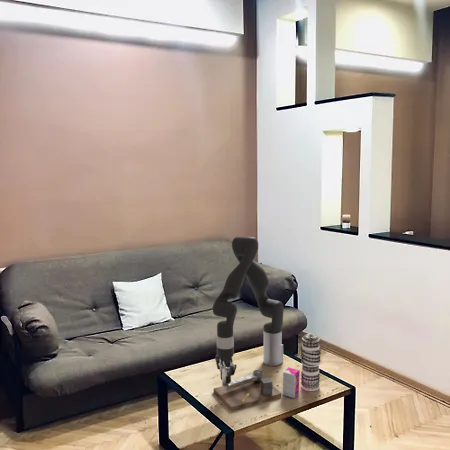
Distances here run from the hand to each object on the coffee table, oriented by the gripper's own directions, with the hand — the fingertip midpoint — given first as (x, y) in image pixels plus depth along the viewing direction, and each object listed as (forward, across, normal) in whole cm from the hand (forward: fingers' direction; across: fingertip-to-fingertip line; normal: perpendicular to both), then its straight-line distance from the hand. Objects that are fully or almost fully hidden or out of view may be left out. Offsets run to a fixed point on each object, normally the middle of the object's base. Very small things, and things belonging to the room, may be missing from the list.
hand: (225, 381), depth 221 cm
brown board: (+8, -4, -9) cm, 12 cm away
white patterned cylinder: (+8, -16, -37) cm, 41 cm away
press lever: (+5, 0, -9) cm, 11 cm away
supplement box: (+8, -16, -25) cm, 30 cm away
